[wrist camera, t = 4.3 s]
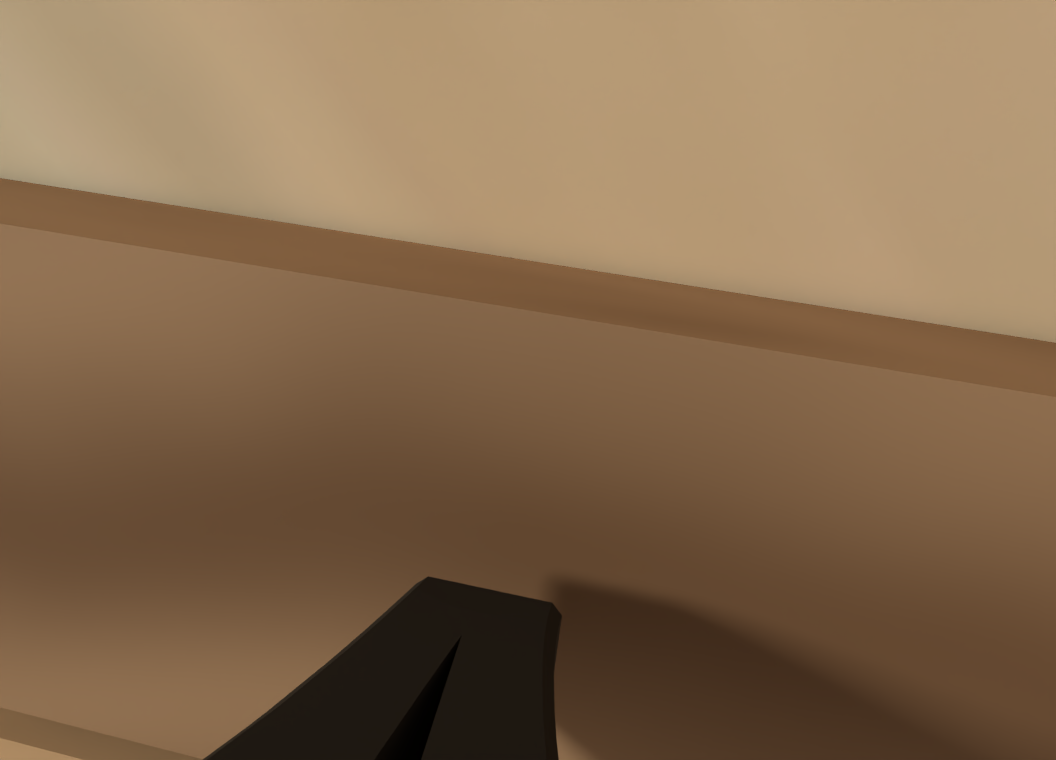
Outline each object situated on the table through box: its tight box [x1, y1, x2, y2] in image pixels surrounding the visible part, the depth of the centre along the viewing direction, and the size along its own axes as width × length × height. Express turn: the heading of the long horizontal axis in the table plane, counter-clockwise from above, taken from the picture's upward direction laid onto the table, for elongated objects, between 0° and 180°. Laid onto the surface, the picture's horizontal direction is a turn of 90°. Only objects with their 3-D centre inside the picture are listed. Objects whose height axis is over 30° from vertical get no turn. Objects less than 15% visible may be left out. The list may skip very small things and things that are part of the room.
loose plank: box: [0, 178, 1056, 760], centre depth 10 cm, size 7×22×2 cm, turn 84°
